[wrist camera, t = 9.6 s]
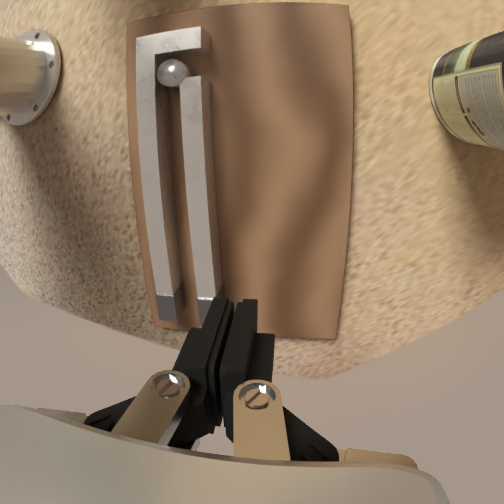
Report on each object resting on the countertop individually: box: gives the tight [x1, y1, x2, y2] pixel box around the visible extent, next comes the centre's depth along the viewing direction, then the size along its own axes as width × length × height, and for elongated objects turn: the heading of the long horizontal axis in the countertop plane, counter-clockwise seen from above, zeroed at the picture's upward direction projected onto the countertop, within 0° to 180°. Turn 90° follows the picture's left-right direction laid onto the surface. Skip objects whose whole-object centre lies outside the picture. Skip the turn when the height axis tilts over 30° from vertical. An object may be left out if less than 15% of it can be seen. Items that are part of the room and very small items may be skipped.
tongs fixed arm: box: [136, 26, 210, 322], centre depth 28 cm, size 28×6×3 cm, turn 1°
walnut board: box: [126, 2, 353, 339], centre depth 30 cm, size 21×34×2 cm, turn 1°
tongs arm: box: [157, 59, 225, 325], centre depth 29 cm, size 25×4×3 cm, turn 2°
